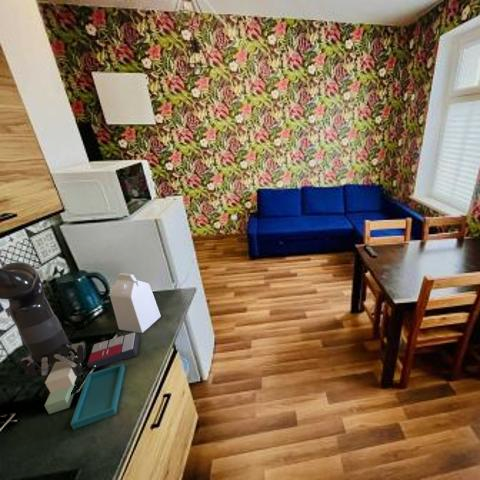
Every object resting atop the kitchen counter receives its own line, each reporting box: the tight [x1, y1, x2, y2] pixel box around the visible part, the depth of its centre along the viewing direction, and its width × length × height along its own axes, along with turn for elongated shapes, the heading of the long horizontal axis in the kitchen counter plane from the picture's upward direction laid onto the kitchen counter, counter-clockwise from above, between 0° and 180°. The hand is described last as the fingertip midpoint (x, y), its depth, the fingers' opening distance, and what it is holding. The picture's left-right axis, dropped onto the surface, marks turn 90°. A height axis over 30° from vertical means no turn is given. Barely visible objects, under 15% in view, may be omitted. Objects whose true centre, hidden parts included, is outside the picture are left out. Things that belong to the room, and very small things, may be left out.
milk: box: [109, 272, 162, 334], centre depth 119 cm, size 12×12×26 cm
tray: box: [70, 363, 126, 430], centre depth 90 cm, size 11×20×2 cm, turn 27°
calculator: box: [86, 332, 140, 370], centre depth 106 cm, size 11×4×15 cm
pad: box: [44, 355, 82, 394], centre depth 78 cm, size 5×8×4 cm, turn 27°
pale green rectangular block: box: [43, 383, 76, 415], centre depth 88 cm, size 5×8×4 cm, turn 27°
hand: (66, 377), depth 78 cm, fingers closed on pad, 5 cm apart
